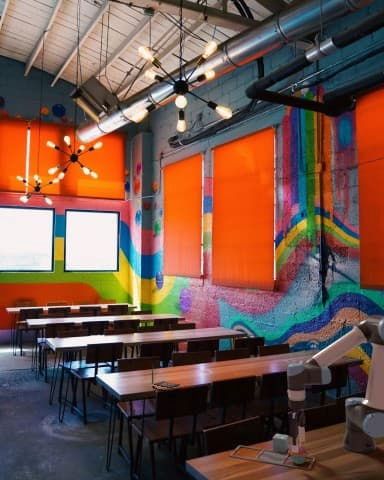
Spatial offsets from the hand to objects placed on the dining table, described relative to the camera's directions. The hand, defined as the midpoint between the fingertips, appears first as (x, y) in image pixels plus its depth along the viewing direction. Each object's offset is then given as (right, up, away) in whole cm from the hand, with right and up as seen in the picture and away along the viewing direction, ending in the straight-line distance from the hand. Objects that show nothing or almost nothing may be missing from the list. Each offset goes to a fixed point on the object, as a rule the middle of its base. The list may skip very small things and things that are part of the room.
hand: (298, 446), depth 210 cm
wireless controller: (-68, -16, +131) cm, 149 cm away
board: (-11, -7, +5) cm, 14 cm away
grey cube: (-5, -8, +15) cm, 17 cm away
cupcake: (0, -7, -1) cm, 7 cm away
